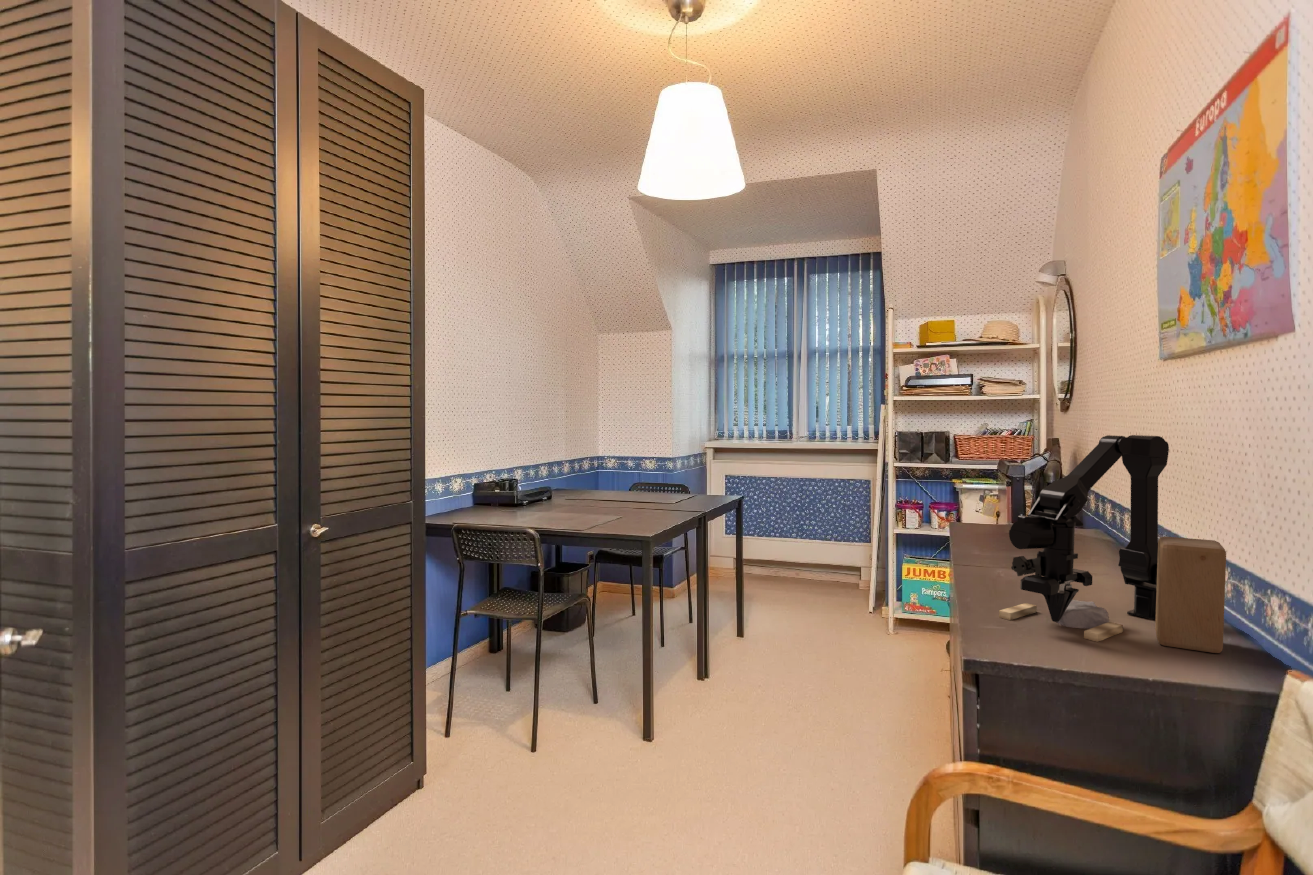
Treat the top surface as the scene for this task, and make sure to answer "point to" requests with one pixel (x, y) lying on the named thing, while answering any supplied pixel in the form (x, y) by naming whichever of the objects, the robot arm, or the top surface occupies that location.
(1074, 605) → the stone block
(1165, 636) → the wooden block
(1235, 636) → the top surface
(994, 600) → the top surface
